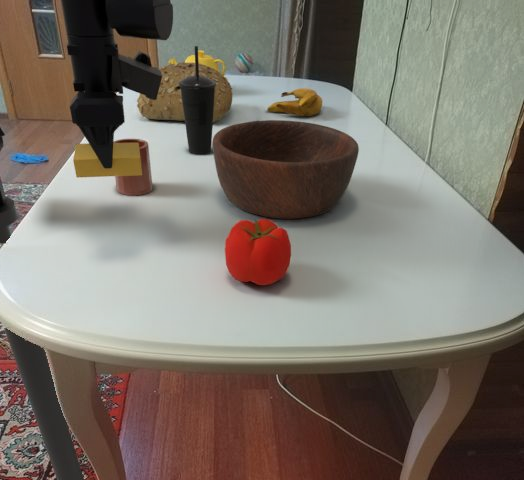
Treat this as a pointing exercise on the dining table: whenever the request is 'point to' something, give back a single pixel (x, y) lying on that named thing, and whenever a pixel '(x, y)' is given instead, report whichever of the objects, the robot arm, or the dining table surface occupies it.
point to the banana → (299, 103)
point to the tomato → (257, 251)
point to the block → (122, 163)
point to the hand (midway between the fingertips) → (108, 159)
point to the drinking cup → (198, 110)
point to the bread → (171, 98)
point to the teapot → (204, 61)
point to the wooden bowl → (284, 167)
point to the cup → (137, 182)
